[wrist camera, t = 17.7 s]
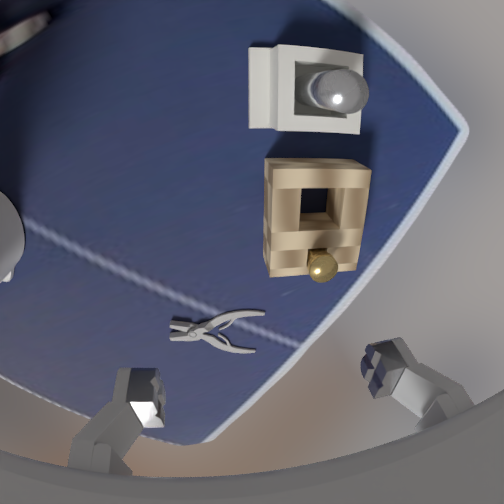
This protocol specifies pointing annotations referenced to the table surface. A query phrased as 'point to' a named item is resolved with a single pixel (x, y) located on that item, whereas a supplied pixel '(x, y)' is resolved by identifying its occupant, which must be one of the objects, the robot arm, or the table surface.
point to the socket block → (313, 224)
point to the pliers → (196, 331)
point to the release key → (321, 265)
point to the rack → (283, 86)
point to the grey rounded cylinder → (332, 90)
